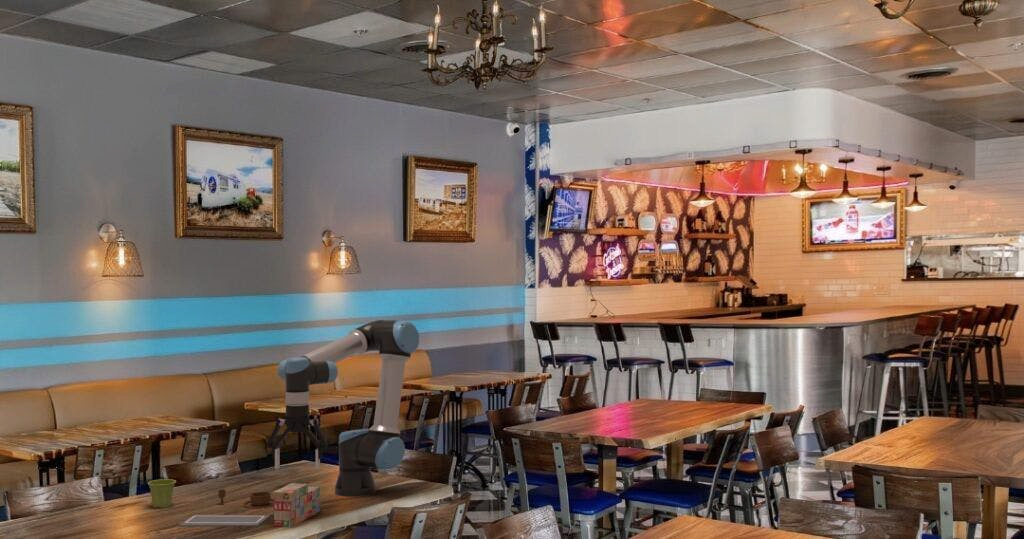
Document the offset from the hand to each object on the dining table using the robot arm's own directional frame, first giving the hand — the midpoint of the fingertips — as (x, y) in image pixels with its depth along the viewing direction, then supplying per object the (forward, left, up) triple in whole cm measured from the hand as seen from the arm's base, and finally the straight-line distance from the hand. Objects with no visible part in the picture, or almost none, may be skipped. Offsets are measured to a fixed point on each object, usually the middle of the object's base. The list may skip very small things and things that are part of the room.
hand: (297, 468), depth 323 cm
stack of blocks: (0, -1, -18) cm, 18 cm away
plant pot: (+55, -20, -18) cm, 61 cm away
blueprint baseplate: (+24, +2, -18) cm, 30 cm away
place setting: (+23, -23, -18) cm, 37 cm away
